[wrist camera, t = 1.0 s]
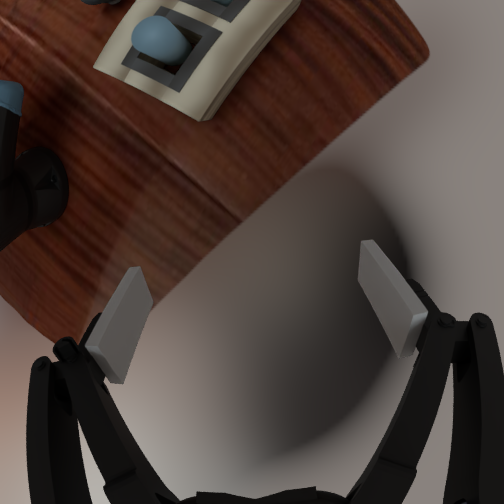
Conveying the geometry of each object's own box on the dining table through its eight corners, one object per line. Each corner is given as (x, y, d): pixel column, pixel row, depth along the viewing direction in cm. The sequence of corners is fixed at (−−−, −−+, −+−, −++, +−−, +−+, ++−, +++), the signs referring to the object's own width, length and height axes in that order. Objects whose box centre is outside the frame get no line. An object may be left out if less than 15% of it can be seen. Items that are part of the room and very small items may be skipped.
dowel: (153, 58, 26) (123, 44, 18) (171, 32, 25) (147, 10, 17) (179, 70, 27) (155, 58, 19) (198, 44, 26) (180, 23, 18)
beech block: (125, 73, 33) (91, 67, 23) (207, -33, 24) (196, -65, 15) (211, 119, 37) (198, 121, 28) (297, 9, 28) (310, -18, 19)
